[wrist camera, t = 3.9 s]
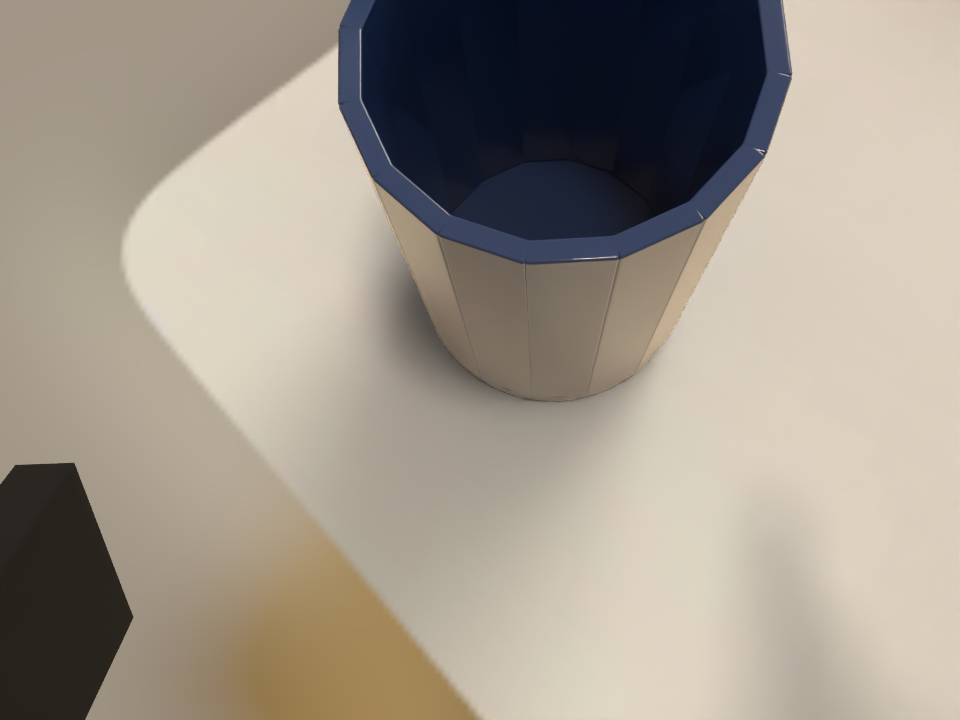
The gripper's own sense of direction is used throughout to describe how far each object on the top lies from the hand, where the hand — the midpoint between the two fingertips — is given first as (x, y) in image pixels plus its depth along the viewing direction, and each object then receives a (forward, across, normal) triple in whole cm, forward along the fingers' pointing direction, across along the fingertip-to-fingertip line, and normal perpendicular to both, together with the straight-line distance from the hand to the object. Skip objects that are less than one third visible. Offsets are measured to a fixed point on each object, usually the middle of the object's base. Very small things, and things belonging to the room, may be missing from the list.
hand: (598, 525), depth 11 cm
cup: (+14, 0, -3) cm, 14 cm away
